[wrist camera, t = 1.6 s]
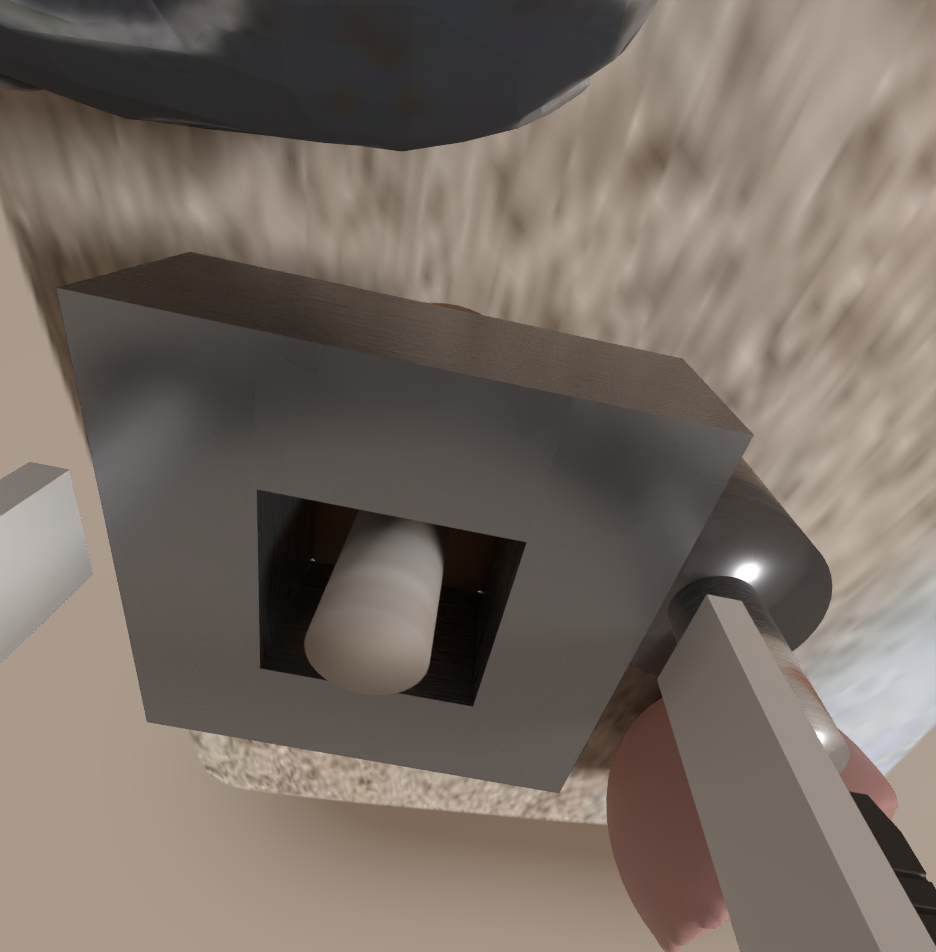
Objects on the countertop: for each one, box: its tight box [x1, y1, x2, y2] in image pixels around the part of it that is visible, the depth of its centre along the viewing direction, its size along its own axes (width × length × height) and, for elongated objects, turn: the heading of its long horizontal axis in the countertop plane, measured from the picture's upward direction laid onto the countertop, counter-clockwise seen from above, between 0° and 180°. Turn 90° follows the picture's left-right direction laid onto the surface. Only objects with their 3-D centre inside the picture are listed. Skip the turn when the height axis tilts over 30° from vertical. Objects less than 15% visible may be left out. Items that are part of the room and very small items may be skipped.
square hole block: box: [56, 252, 753, 793], centre depth 11 cm, size 10×10×4 cm
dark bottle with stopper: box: [630, 457, 850, 774], centre depth 17 cm, size 7×7×11 cm
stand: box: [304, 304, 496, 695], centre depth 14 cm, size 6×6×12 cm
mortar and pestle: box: [606, 697, 898, 952], centre depth 23 cm, size 12×12×11 cm
